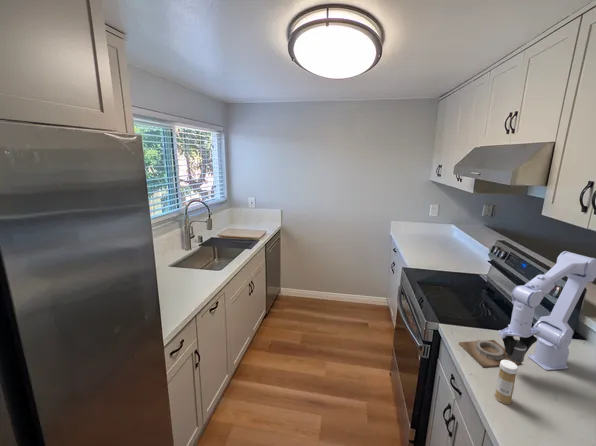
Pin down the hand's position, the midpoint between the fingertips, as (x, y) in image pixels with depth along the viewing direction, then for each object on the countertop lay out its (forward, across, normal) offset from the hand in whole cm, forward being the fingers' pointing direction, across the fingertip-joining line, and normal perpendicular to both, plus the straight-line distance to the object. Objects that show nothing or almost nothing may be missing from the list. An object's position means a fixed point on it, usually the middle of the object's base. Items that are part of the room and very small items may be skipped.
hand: (515, 352), depth 102 cm
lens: (+2, 0, 0) cm, 2 cm away
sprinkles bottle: (+9, +13, +10) cm, 19 cm away
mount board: (+8, 0, -10) cm, 13 cm away
